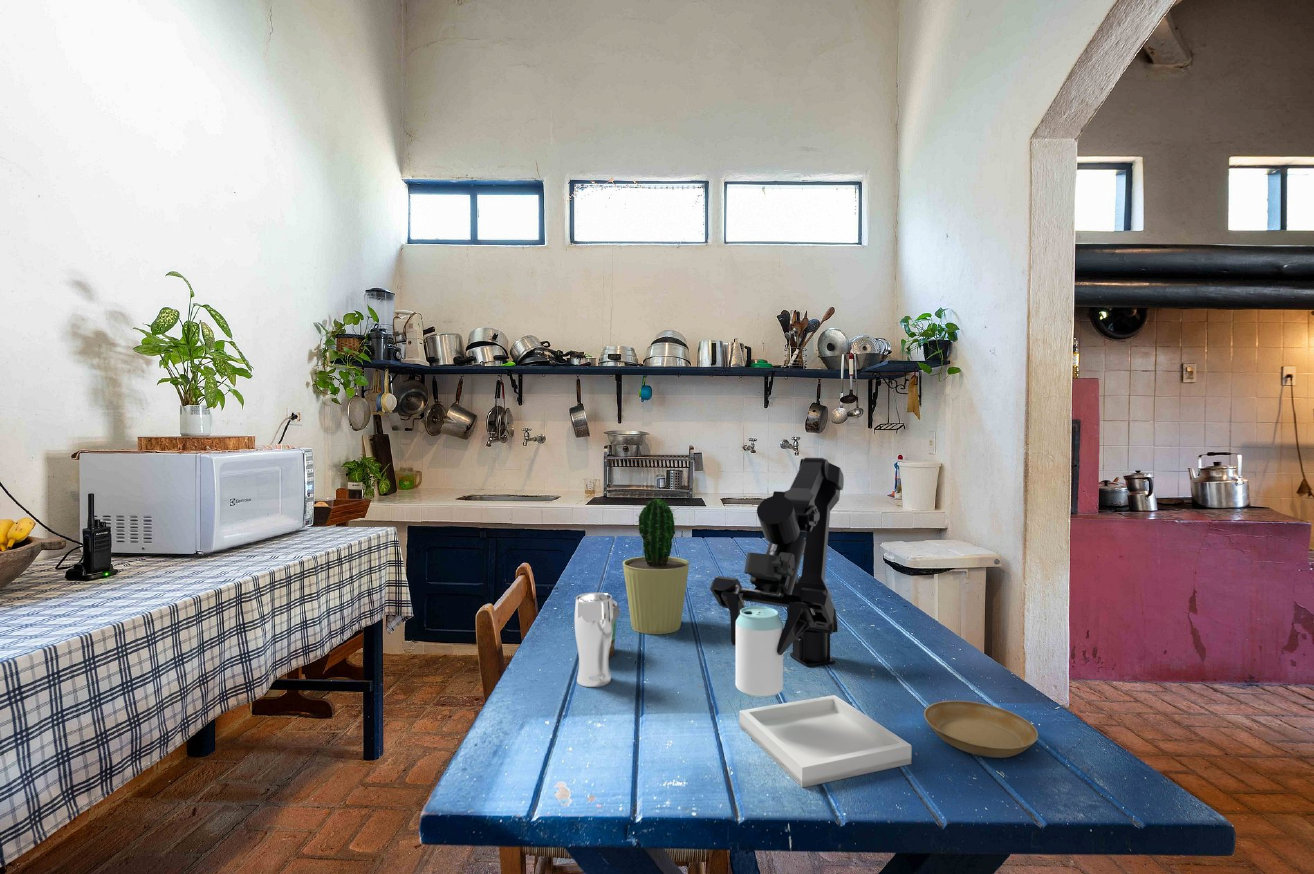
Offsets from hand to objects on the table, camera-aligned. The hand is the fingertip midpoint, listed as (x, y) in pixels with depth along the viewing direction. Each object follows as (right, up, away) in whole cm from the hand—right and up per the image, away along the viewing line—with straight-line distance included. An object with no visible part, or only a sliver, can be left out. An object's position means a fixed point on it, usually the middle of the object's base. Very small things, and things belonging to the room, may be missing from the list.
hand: (755, 648), depth 92 cm
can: (+1, -7, +1) cm, 7 cm away
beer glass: (-26, -12, +19) cm, 34 cm away
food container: (-25, -12, +32) cm, 43 cm away
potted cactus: (-15, -12, +50) cm, 54 cm away
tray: (+9, -12, -4) cm, 15 cm away
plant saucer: (+32, -13, -2) cm, 35 cm away
